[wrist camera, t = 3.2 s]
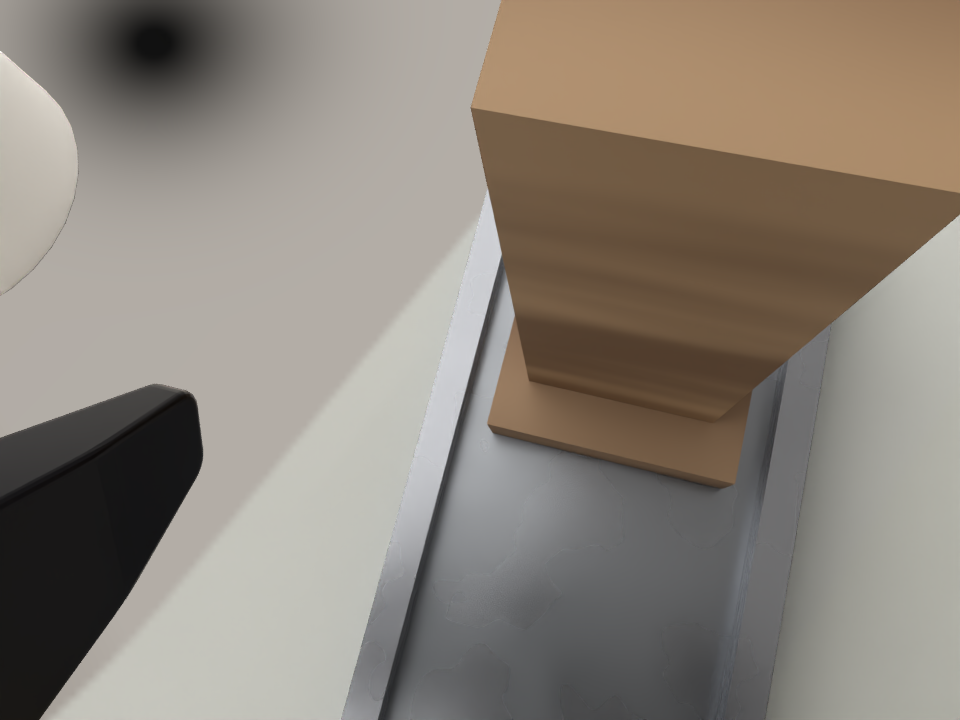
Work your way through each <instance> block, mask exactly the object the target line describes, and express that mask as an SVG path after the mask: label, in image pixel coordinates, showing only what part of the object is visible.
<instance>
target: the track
mask: <svg viewBox="0 0 960 720" xmlns="http://www.w3.org/2000/svg"><path fill="white" fill-rule="evenodd" d="M514 317H515V313H514V308H513V304H512V299H511V294H510V290H509V285H508V280H507V276H506V271H505V266H504V262H503V257H502V252H501V248H500V243H499V238H498V233H497V229H496V224H495V219H494V215H493V210H492V205H491V201H490V196H489V191H488V189H487V193H486V196H485V200H484V203H483V207H482V211H481V214H480V218H479V221H478V225H477V229H476V232H475V236H474V240H473V243H472V247H471V250H470V254H469V258H468V261H467V265H466V269H465V272H464V276H463V279H462V283H461V287H460V290H459V294H458V298H457V301H456V305H455V308H454V312H453V316H452V319H451V323H450V327H449V330H448V334H447V337H446V341H445V345H444V348H443V352H442V356H441V359H440V363H439V366H438V370H437V374H436V377H435V381H434V385H433V388H432V392H431V395H430V399H429V403H428V406H427V410H426V414H425V417H424V421H423V424H422V428H421V432H420V435H419V439H418V443H417V446H416V450H415V453H414V457H413V461H412V464H411V468H410V472H409V475H408V479H407V482H406V486H405V490H404V493H403V497H402V500H401V504H400V508H399V511H398V515H397V519H396V522H395V526H394V529H393V533H392V537H391V540H390V544H389V548H388V551H387V555H386V558H385V562H384V566H383V569H382V573H381V577H380V580H379V584H378V587H377V591H376V595H375V598H374V602H373V606H372V609H371V613H370V616H369V620H368V624H367V627H366V631H365V635H364V638H363V642H362V645H361V649H360V653H359V656H358V660H357V664H356V667H355V671H354V674H353V678H352V682H351V685H350V689H349V693H348V696H347V700H346V703H345V707H344V711H343V714H342V718H341V720H765V716H766V710H767V704H768V698H769V693H770V687H771V681H772V675H773V669H774V663H775V657H776V651H777V645H778V639H779V633H780V627H781V621H782V615H783V609H784V603H785V597H786V591H787V585H788V579H789V573H790V567H791V561H792V556H793V550H794V544H795V538H796V532H797V526H798V520H799V514H800V508H801V502H802V496H803V490H804V484H805V478H806V472H807V466H808V460H809V454H810V448H811V442H812V436H813V430H814V424H815V419H816V413H817V407H818V401H819V395H820V389H821V383H822V377H823V371H824V365H825V359H826V353H827V347H828V341H829V335H830V329H831V324H830V325H829V326H827V327H826V328H825V329H824V330H823V331H821V332H820V333H819V334H818V335H817V336H816V337H814V338H813V339H812V340H811V341H810V342H808V343H807V344H806V345H805V346H804V347H803V348H801V349H800V350H799V351H798V352H797V353H795V354H794V355H793V356H792V357H791V358H790V359H788V360H787V361H786V362H785V363H784V364H782V365H781V366H780V367H779V368H778V369H777V370H775V371H774V372H773V373H772V374H771V375H769V376H768V377H767V378H766V379H765V380H764V381H762V382H761V383H760V384H759V385H758V386H756V387H755V388H754V389H753V390H752V396H751V401H750V406H749V412H748V417H747V423H746V428H745V433H744V439H743V444H742V449H741V455H740V460H739V465H738V471H737V476H736V481H735V484H734V485H731V486H729V487H726V488H723V489H721V488H717V487H712V486H708V485H704V484H700V483H696V482H692V481H688V480H684V479H680V478H676V477H671V476H667V475H663V474H659V473H655V472H651V471H647V470H643V469H639V468H635V467H630V466H626V465H622V464H618V463H614V462H610V461H606V460H602V459H598V458H594V457H589V456H585V455H581V454H577V453H573V452H569V451H565V450H561V449H557V448H553V447H548V446H544V445H540V444H536V443H532V442H528V441H524V440H520V439H516V438H512V437H507V436H503V435H499V434H495V433H492V431H491V430H490V428H489V427H488V425H487V421H488V417H489V414H490V410H491V406H492V402H493V398H494V394H495V390H496V386H497V383H498V379H499V375H500V371H501V367H502V363H503V359H504V355H505V352H506V348H507V344H508V340H509V336H510V332H511V328H512V324H513V321H514Z"/></svg>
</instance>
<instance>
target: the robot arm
mask: <svg viewBox="0 0 960 720" xmlns="http://www.w3.org/2000/svg"><path fill="white" fill-rule="evenodd" d="M202 461H203V446H202V439H201V430H200V422H199V414H198V406H197V401H196V399H195V398H194V396H193V394H191V393H190V392H188V391H186V390H182V389H178V388H174V387H170V386H166V385H161V384H152V385H148V386H145V387H143V388H140V389H137V390H134V391H131V392H129V393H126V394H123V395H120V396H117V397H114V398H111V399H109V400H106V401H103V402H100V403H97V404H95V405H92V406H89V407H86V408H84V409H80V410H78V411H75V412H72V413H69V414H66V415H64V416H61V417H58V418H55V419H52V420H49V421H47V422H44V423H41V424H38V425H35V426H33V427H30V428H27V429H24V430H21V431H18V432H15V433H13V434H10V435H7V436H4V437H2V438H0V720H39V719H40V718H41V717H42V715H43V714H44V712H45V711H46V710H47V708H48V707H49V706H50V704H51V703H52V701H53V700H54V699H55V697H56V696H57V694H58V693H59V692H60V690H61V689H62V687H63V686H64V685H65V683H66V682H67V680H68V679H69V678H70V676H71V675H72V674H73V672H74V671H75V669H76V668H77V667H78V665H79V664H80V663H81V661H82V660H83V658H84V657H85V656H86V654H87V653H88V651H89V650H90V649H91V647H92V646H93V644H94V643H95V642H96V640H97V639H98V638H99V636H100V635H101V633H102V632H103V631H104V629H105V628H106V626H107V625H108V624H109V622H110V621H111V620H112V618H113V617H114V615H115V614H116V612H117V611H118V609H119V608H120V607H121V605H122V604H123V602H124V600H125V599H126V598H127V596H128V595H129V593H130V592H131V590H132V588H133V587H134V585H135V583H136V582H137V580H138V578H139V577H140V575H141V573H142V572H143V570H144V568H145V566H146V564H147V563H148V561H149V559H150V558H151V556H152V554H153V552H154V551H155V549H156V547H157V545H158V543H159V542H160V540H161V539H162V537H163V535H164V533H165V532H166V530H167V528H168V526H169V524H170V523H171V521H172V519H173V518H174V516H175V514H176V512H177V511H178V509H179V507H180V505H181V504H182V502H183V500H184V498H185V497H186V495H187V493H188V492H189V490H190V488H191V486H192V485H193V483H194V481H195V479H196V478H197V476H198V474H199V471H200V468H201V465H202Z"/></svg>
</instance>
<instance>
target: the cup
mask: <svg viewBox="0 0 960 720" xmlns="http://www.w3.org/2000/svg"><path fill="white" fill-rule="evenodd" d="M78 174H79V169H78V148H77V145H76V141H75V137H74V134H73V130H72V127H71V125H70V123H69V121H68V119H67V117H66V115H65V114H64V112H63V110H62V108H61V107H60V106H59V104H58V103H57V102H56V101H55V100H54V99H53V98H52V97H51V96H50V95H49V93H48V92H47V91H46V90H44V89H43V88H42V87H41V86H40V85H39V84H38V83H36V82H35V81H34V80H33V79H32V78H31V77H30V76H28V75H27V74H26V73H25V72H24V71H23V70H22V69H21V68H19V67H18V66H17V65H16V64H15V63H14V62H13V61H12V60H10V59H9V58H8V57H7V56H6V55H5V54H4V53H2V52H1V51H0V296H1V295H2V294H4V293H5V292H7V291H9V290H10V289H12V288H13V287H14V286H15V285H16V284H18V283H19V282H20V281H21V280H22V279H23V278H24V277H26V276H27V275H28V274H29V273H30V272H31V271H32V270H34V268H35V267H36V266H37V265H38V263H39V262H40V261H41V260H42V259H43V257H44V256H45V255H46V254H47V252H48V251H49V250H50V249H51V248H52V246H53V244H54V243H55V241H56V239H57V237H58V235H59V234H60V232H61V230H62V228H63V227H64V225H65V223H66V221H67V218H68V215H69V212H70V210H71V207H72V204H73V201H74V198H75V192H76V187H77V180H78Z"/></svg>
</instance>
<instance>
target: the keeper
mask: <svg viewBox="0 0 960 720" xmlns="http://www.w3.org/2000/svg"><path fill="white" fill-rule="evenodd" d="M471 112H472V116H473V121H474V125H475V130H476V135H477V140H478V144H479V148H480V154H481V158H482V163H483V168H484V172H485V177H486V182H487V186H488V191H489V196H490V201H491V205H492V210H493V215H494V219H495V224H496V229H497V233H498V238H499V243H500V248H501V252H502V257H503V262H504V266H505V271H506V276H507V280H508V285H509V290H510V294H511V299H512V304H513V308H514V313H515V317H514V321H513V324H512V328H511V332H510V336H509V340H508V344H507V348H506V352H505V355H504V359H503V363H502V367H501V371H500V375H499V379H498V383H497V386H496V390H495V394H494V398H493V402H492V406H491V410H490V414H489V417H488V421H487V425H488V427H489V428H490V430H491V431H492V433H495V434H499V435H503V436H507V437H512V438H516V439H520V440H524V441H528V442H532V443H536V444H540V445H544V446H548V447H553V448H557V449H561V450H565V451H569V452H573V453H577V454H581V455H585V456H589V457H594V458H598V459H602V460H606V461H610V462H614V463H618V464H622V465H626V466H630V467H635V468H639V469H643V470H647V471H651V472H655V473H659V474H663V475H667V476H671V477H676V478H680V479H684V480H688V481H692V482H696V483H700V484H704V485H708V486H712V487H717V488H721V489H723V488H726V487H729V486H731V485H734V484H735V481H736V476H737V471H738V465H739V460H740V455H741V449H742V444H743V439H744V433H745V428H746V423H747V417H748V412H749V406H750V401H751V396H752V390H753V389H754V388H755V387H756V386H758V385H759V384H760V383H761V382H762V381H764V380H765V379H766V378H767V377H768V376H769V375H771V374H772V373H773V372H774V371H775V370H777V369H778V368H779V367H780V366H781V365H782V364H784V363H785V362H786V361H787V360H788V359H790V358H791V357H792V356H793V355H794V354H795V353H797V352H798V351H799V350H800V349H801V348H803V347H804V346H805V345H806V344H807V343H808V342H810V341H811V340H812V339H813V338H814V337H816V336H817V335H818V334H819V333H820V332H821V331H823V330H824V329H825V328H826V327H827V326H829V325H830V324H831V323H832V322H833V321H834V320H836V319H837V318H838V317H839V316H840V315H842V314H843V313H844V312H845V311H846V310H847V309H849V308H850V307H851V306H852V305H853V304H855V303H856V302H857V301H858V300H859V299H860V298H862V297H863V296H864V295H865V294H866V293H868V292H869V291H870V290H871V289H872V288H873V287H875V286H876V285H877V284H878V283H879V282H881V281H882V280H883V279H884V278H885V277H886V276H888V275H889V274H890V273H891V272H892V271H894V270H895V269H896V268H897V267H898V266H899V265H901V264H902V263H903V262H904V261H905V260H907V259H908V258H909V257H910V256H911V255H912V254H914V253H915V252H916V251H917V250H918V249H920V248H921V247H922V246H923V245H924V244H925V243H927V242H928V241H929V240H930V239H931V238H933V237H934V236H935V235H936V234H937V233H938V232H940V231H941V230H942V229H943V228H944V227H946V226H947V225H948V224H949V223H950V222H951V221H953V220H954V219H955V218H956V217H957V216H959V215H960V0H501V4H500V7H499V11H498V14H497V18H496V21H495V25H494V28H493V32H492V35H491V38H490V42H489V46H488V49H487V52H486V56H485V59H484V63H483V66H482V70H481V73H480V77H479V80H478V84H477V87H476V91H475V94H474V98H473V101H472V105H471Z"/></svg>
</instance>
